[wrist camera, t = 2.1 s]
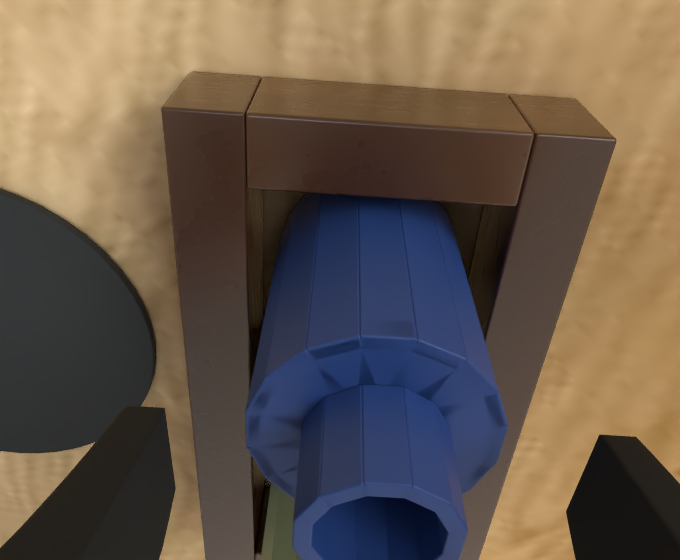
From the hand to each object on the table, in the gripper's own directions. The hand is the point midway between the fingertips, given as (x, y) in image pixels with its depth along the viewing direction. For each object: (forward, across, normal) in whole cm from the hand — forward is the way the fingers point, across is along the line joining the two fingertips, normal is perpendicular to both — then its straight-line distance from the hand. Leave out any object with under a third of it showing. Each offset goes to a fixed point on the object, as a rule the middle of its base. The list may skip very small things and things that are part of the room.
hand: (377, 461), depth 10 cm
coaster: (+7, +11, +4) cm, 14 cm away
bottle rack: (+7, 0, +4) cm, 8 cm away
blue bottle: (+7, 0, 0) cm, 7 cm away
